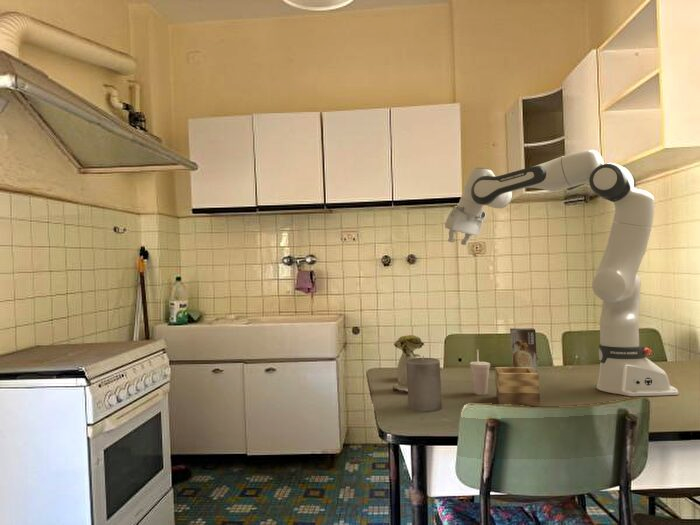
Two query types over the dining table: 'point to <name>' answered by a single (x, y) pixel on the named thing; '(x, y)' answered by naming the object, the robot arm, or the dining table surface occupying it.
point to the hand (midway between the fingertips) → (456, 243)
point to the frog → (405, 357)
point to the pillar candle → (424, 384)
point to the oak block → (516, 380)
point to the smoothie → (480, 375)
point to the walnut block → (519, 398)
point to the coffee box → (523, 347)
